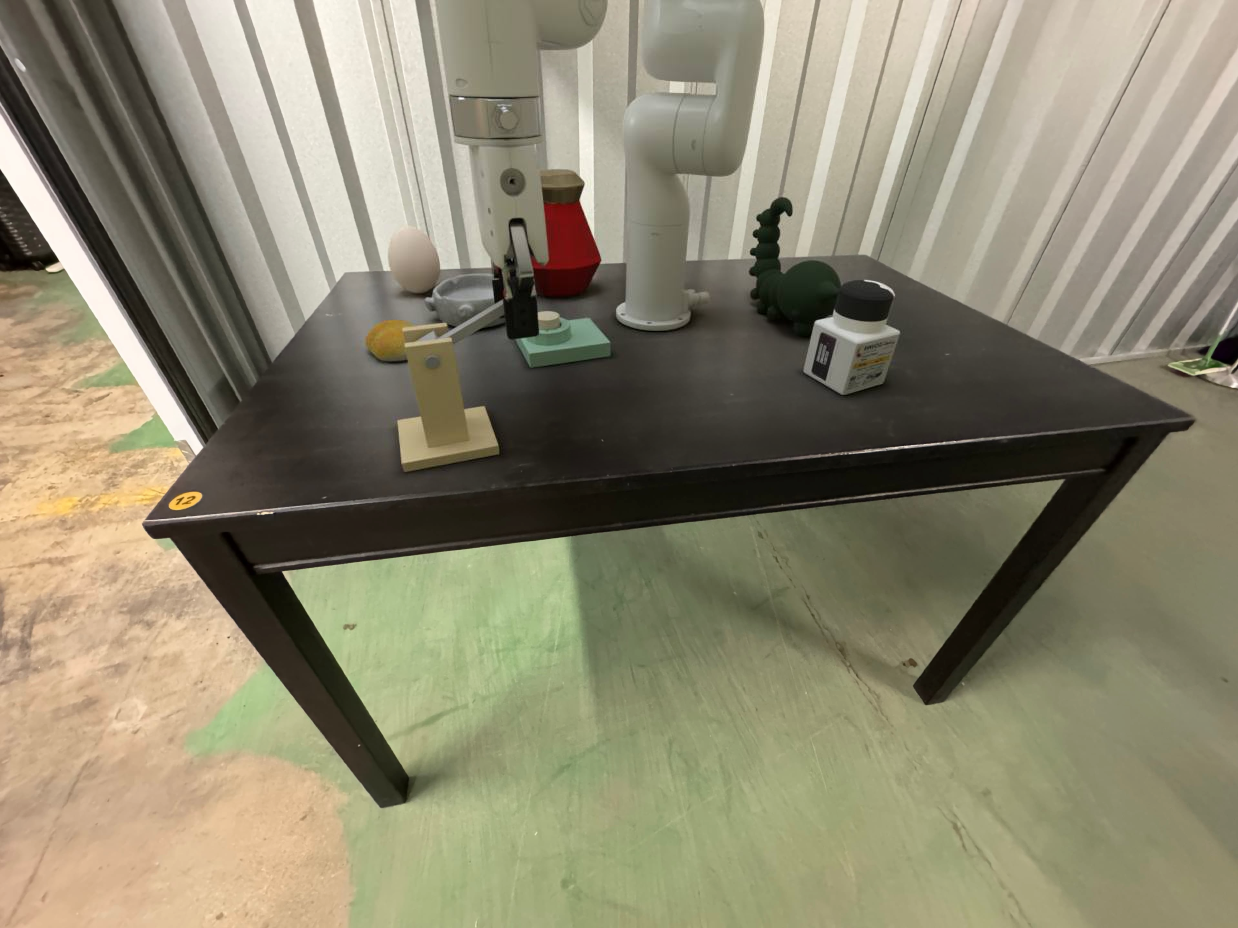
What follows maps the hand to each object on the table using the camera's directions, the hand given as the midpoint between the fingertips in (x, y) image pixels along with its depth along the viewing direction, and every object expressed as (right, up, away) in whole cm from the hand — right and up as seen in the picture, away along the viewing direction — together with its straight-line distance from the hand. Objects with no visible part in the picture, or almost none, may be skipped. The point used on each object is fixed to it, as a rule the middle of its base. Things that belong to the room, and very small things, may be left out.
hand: (516, 324), depth 57 cm
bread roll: (-22, +2, +24) cm, 33 cm away
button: (0, +5, +23) cm, 23 cm away
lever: (-4, -1, -1) cm, 4 cm away
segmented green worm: (+39, +10, +36) cm, 54 cm away
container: (+42, -3, +19) cm, 46 cm away
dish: (-13, +10, +35) cm, 39 cm away
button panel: (+2, +3, +25) cm, 26 cm away
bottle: (0, +18, +46) cm, 50 cm away
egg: (-26, +17, +44) cm, 54 cm away
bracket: (-9, -12, +5) cm, 16 cm away
